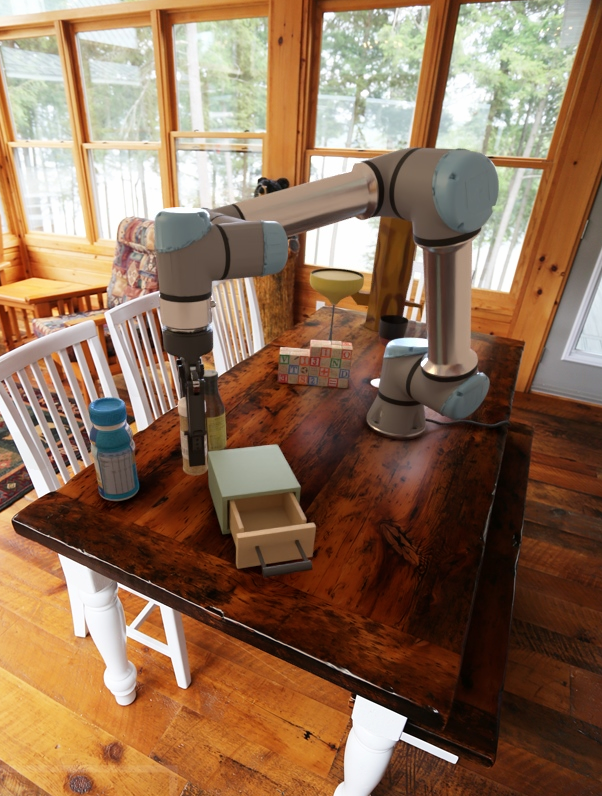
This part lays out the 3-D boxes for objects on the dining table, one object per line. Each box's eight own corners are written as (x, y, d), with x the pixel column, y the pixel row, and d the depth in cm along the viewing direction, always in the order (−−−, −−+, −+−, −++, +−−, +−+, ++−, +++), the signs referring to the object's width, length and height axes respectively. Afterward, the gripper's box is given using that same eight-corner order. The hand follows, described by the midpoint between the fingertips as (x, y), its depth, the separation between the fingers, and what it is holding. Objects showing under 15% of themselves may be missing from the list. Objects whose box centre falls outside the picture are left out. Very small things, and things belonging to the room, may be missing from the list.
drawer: (326, 584, 84) (330, 554, 80) (246, 598, 81) (247, 567, 77) (288, 507, 101) (290, 478, 98) (221, 516, 98) (221, 487, 95)
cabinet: (297, 523, 99) (300, 487, 94) (222, 534, 95) (222, 497, 90) (275, 478, 111) (277, 444, 107) (208, 486, 108) (207, 451, 103)
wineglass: (367, 386, 154) (377, 321, 143) (373, 376, 161) (383, 313, 150) (393, 391, 152) (405, 325, 141) (398, 380, 159) (410, 317, 148)
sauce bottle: (230, 447, 122) (230, 369, 111) (220, 460, 117) (219, 380, 106) (205, 442, 123) (203, 365, 113) (194, 454, 118) (190, 375, 108)
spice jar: (213, 471, 89) (210, 403, 82) (189, 479, 87) (185, 409, 80) (200, 459, 92) (197, 392, 85) (178, 467, 90) (172, 398, 83)
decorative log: (360, 209, 192) (442, 216, 185) (347, 316, 214) (419, 325, 207) (354, 214, 180) (441, 221, 173) (340, 326, 203) (417, 336, 195)
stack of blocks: (277, 383, 154) (279, 344, 147) (278, 375, 159) (280, 337, 153) (347, 388, 153) (353, 349, 146) (346, 380, 158) (352, 341, 151)
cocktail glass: (358, 356, 175) (368, 281, 162) (305, 354, 175) (312, 279, 162) (351, 338, 190) (360, 269, 177) (303, 337, 190) (308, 267, 177)
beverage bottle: (119, 508, 101) (105, 419, 90) (89, 493, 105) (73, 406, 94) (148, 487, 107) (139, 402, 96) (119, 474, 111) (107, 390, 100)
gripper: (223, 343, 69) (226, 482, 82) (202, 306, 83) (207, 430, 96) (168, 347, 68) (179, 488, 80) (156, 309, 82) (167, 434, 94)
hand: (194, 456), depth 88 cm, fingers closed on spice jar, 4 cm apart
